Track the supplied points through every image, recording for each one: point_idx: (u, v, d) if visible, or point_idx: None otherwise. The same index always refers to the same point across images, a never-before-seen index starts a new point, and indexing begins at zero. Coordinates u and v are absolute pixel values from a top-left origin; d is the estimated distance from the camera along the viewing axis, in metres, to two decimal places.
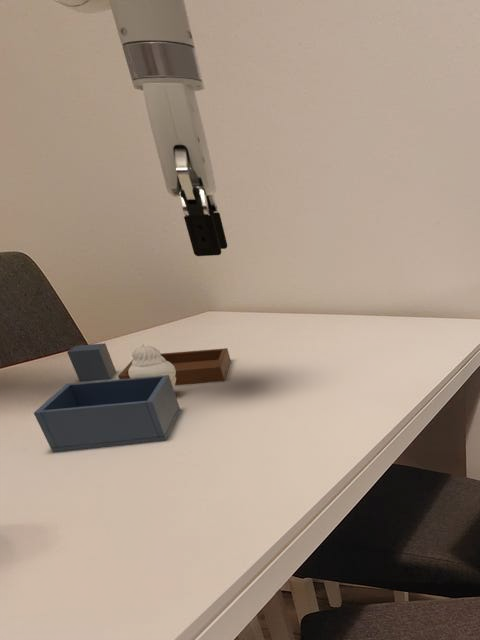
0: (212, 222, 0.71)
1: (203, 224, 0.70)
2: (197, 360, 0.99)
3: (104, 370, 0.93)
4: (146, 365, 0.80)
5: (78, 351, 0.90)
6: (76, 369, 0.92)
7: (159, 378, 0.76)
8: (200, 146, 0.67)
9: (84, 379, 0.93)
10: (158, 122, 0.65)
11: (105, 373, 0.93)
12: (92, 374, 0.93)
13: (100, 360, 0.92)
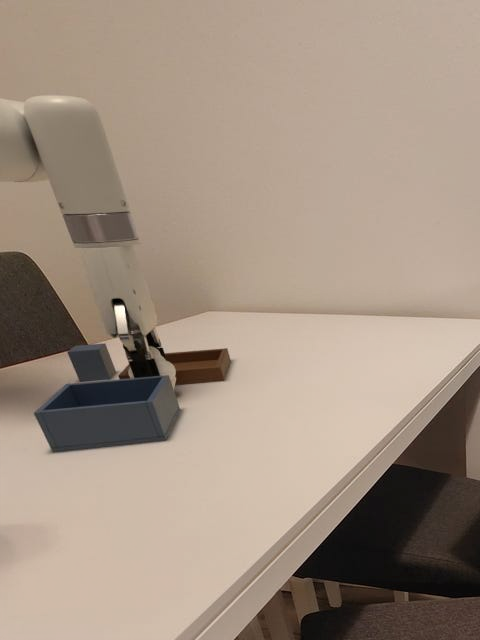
0: (154, 364, 0.79)
1: (146, 367, 0.79)
2: (197, 360, 0.99)
3: (104, 370, 0.93)
4: None
5: (78, 351, 0.90)
6: (76, 369, 0.92)
7: (159, 378, 0.76)
8: (136, 297, 0.74)
9: (84, 379, 0.93)
10: (96, 280, 0.72)
11: (105, 373, 0.93)
12: (92, 374, 0.93)
13: (100, 360, 0.92)
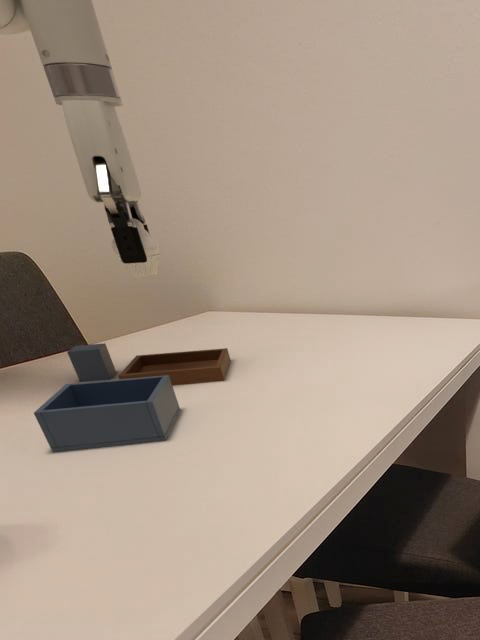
0: (137, 233, 0.79)
1: (128, 235, 0.79)
2: (197, 360, 0.99)
3: (104, 370, 0.93)
4: None
5: (78, 351, 0.90)
6: (76, 369, 0.92)
7: (159, 378, 0.76)
8: (118, 157, 0.74)
9: (84, 379, 0.93)
10: (77, 135, 0.72)
11: (105, 373, 0.93)
12: (92, 374, 0.93)
13: (100, 360, 0.92)
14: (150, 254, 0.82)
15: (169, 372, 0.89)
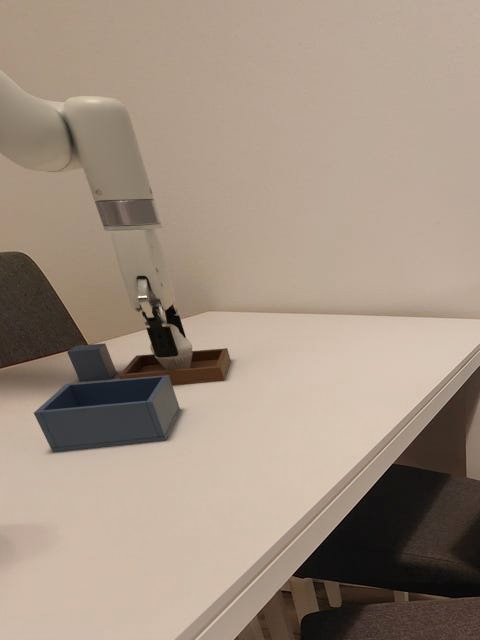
0: (169, 332, 0.87)
1: (162, 334, 0.86)
2: (197, 360, 0.99)
3: (104, 370, 0.93)
4: None
5: (78, 351, 0.90)
6: (76, 369, 0.92)
7: (159, 378, 0.76)
8: (158, 275, 0.84)
9: (84, 379, 0.93)
10: (123, 259, 0.81)
11: (105, 373, 0.93)
12: (92, 374, 0.93)
13: (100, 360, 0.92)
14: (184, 355, 0.92)
15: (169, 372, 0.89)
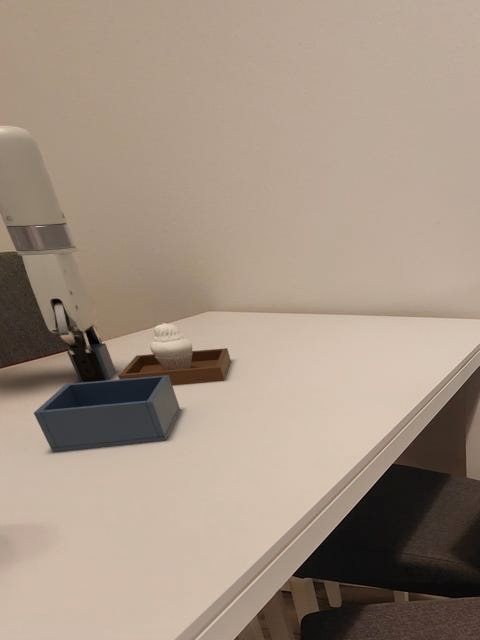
0: (94, 357, 0.91)
1: (86, 360, 0.90)
2: (197, 360, 0.99)
3: (104, 370, 0.93)
4: (167, 340, 0.90)
5: None
6: (76, 369, 0.92)
7: (159, 378, 0.76)
8: (73, 297, 0.85)
9: None
10: (36, 283, 0.82)
11: (105, 373, 0.93)
12: None
13: (100, 360, 0.92)
14: (184, 355, 0.92)
15: (169, 372, 0.89)
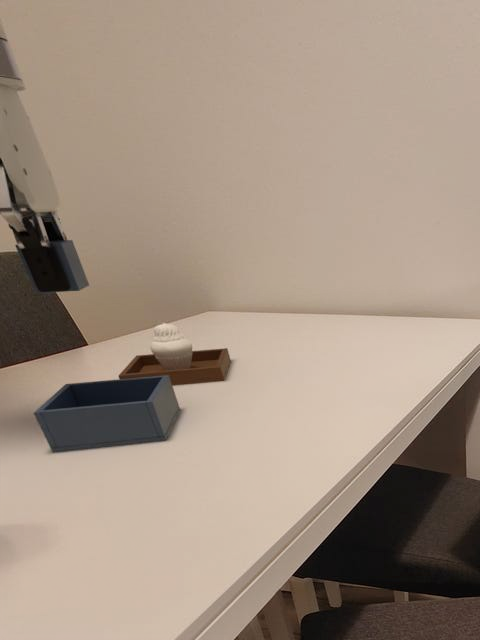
0: (54, 255, 0.63)
1: (43, 257, 0.63)
2: (197, 360, 0.99)
3: (70, 276, 0.65)
4: (167, 340, 0.90)
5: None
6: (29, 273, 0.64)
7: (159, 378, 0.76)
8: (19, 156, 0.57)
9: None
10: None
11: (72, 281, 0.65)
12: None
13: (63, 260, 0.64)
14: (184, 355, 0.92)
15: (169, 372, 0.89)
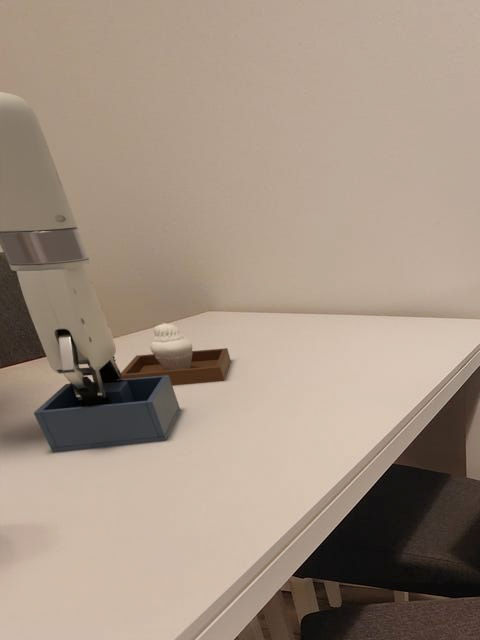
0: (109, 403, 0.68)
1: None
2: (197, 360, 0.99)
3: None
4: (167, 340, 0.90)
5: None
6: None
7: (159, 378, 0.76)
8: (85, 327, 0.63)
9: None
10: (36, 309, 0.61)
11: None
12: None
13: None
14: (184, 355, 0.92)
15: (169, 372, 0.89)
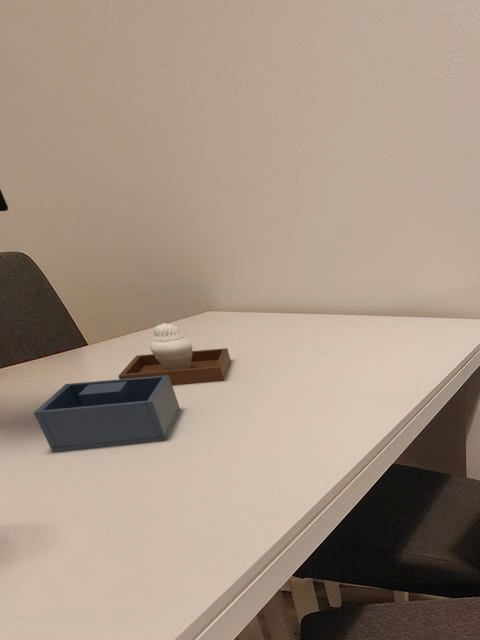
0: None
1: None
2: (197, 360, 0.99)
3: None
4: (167, 340, 0.90)
5: (93, 394, 0.69)
6: None
7: (159, 378, 0.76)
8: None
9: None
10: None
11: None
12: None
13: None
14: (184, 355, 0.92)
15: (169, 372, 0.89)
